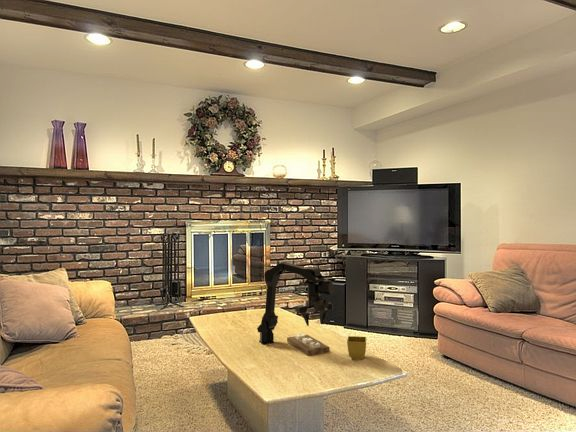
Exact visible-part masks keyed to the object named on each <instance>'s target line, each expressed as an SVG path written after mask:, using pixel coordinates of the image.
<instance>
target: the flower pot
mask: <svg viewBox="0 0 576 432" xmlns="http://www.w3.org/2000/svg"><path fill="white" fill-rule="evenodd" d="M346 343H347V345H346V346H347V352H348V355H349V357H350V358H351V360H359V361H361V360H362V361H363V360H364V358H365V356H366V351H367V348H366V347H367V336H351V335H350V336H347V341H346Z"/></svg>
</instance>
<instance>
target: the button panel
mask: <svg viewBox="0 0 576 432" xmlns="http://www.w3.org/2000/svg"><path fill="white" fill-rule="evenodd" d="M304 335H305V338H311V339H312V340H313V342H318V343H320V347H319V348H311V347H310V343H308V344H304V343H303V342H302V339H299V340H298V339H296V338H295V335H294V336H288V337H287V338H286V342H287V343H288V344H289V345H291V346H292V347H294V348H296V349H297V351H300V352H302V354H304V355H306V356H309V357H310V356H313V355H319V354H320V355H321V354H326V353H330V346H328V345H326V344H325V343H323V342H321V341H320V340H318V339H316V338H314V337H312V336H311V335H308V334H304Z"/></svg>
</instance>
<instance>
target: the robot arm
mask: <svg viewBox="0 0 576 432" xmlns="http://www.w3.org/2000/svg"><path fill="white" fill-rule="evenodd" d="M284 272H288V273H291V274H295V275H299V276H301V277H303V278H304V279H306V280H305V281H304V282H303V285H307V294H306V298H307V301H308V302H307V303H306V305H303V304H300V305H295V308H294V312H295V313H298V314H301V316H302V318H303V319H304V323H305V324H306V326H307V327H309V326H310V324H309V323H310V321H309V315H310V312H308V311H312V310H313V311H314V310H315V311H317V312H319V321H320V322H319V323H320V324H321V325H323V323H324V320H325V316H326V314H327V313H328V312H330V310H333V309H334V305H333V303H332V302H329V299H323V300H322V296H321V295H329V296H330V295H333V294H334V292H335V286H334V284H333V281H332V280H326V279H325V277H324V276H323V275H322V273H321V270H320V268H318V267H314V266H313V267H307V266H306V267H304V266H301V265H297V264H292V263H290V262H287V261H282V262H279V263H277V264H276V265H274V266H273V267H271V268H270V269H267V270H266V271H265V272H264V282H265V284H266V297H265V311H264V314H263V316H262V317H261V320H260V321H261V322H260V325H259V326H257V328H256V330H257V333H259V340H258V343H260V344H262V345H268V344H274V343H275V339H274V338H275V337H274V332H273V331H275V327H276V326H277V324H279V321H278V319H279V318H278V317H279V316H278V315H277V314H276V313H275V307H276V297H277V295H276V293H277V285H278V283H279V282H280V279H281V275H283V273H284Z"/></svg>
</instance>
